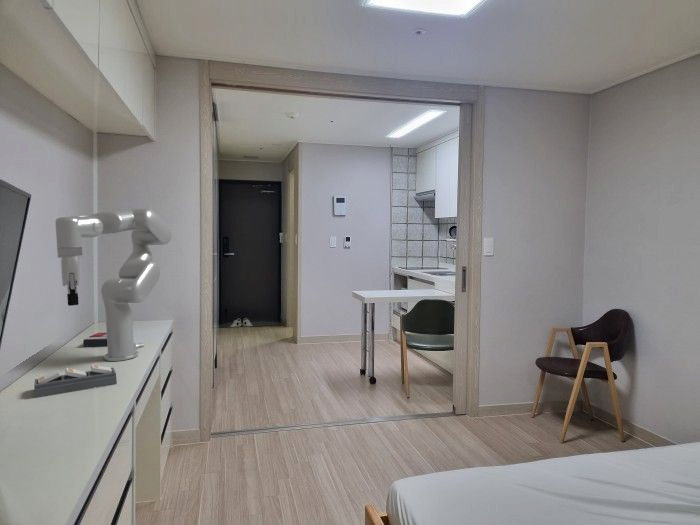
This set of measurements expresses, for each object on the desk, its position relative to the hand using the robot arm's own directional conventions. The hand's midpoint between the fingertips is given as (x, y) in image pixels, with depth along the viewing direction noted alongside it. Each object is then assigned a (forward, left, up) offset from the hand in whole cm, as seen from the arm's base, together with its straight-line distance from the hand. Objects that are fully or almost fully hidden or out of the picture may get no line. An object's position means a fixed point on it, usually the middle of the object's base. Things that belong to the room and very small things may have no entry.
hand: (73, 304), depth 172 cm
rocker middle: (+8, +12, -21) cm, 25 cm away
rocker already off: (+2, +16, -21) cm, 26 cm away
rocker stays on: (+14, +8, -21) cm, 27 cm away
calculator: (-34, -34, -26) cm, 55 cm away
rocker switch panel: (+8, +12, -25) cm, 29 cm away
